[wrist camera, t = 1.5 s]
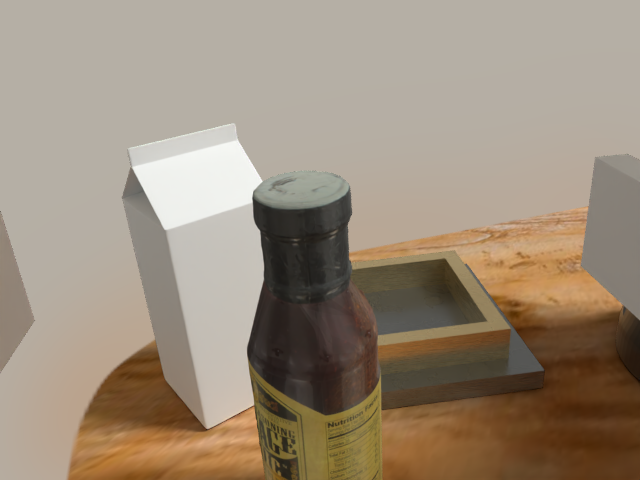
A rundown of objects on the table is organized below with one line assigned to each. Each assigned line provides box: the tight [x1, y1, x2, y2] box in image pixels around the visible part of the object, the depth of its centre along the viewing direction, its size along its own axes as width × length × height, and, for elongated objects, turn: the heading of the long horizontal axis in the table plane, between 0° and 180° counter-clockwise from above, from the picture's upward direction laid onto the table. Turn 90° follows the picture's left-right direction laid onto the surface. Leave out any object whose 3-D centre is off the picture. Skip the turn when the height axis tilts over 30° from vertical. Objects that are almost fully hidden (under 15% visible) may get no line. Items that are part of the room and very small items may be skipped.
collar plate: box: [350, 251, 545, 410], centre depth 47 cm, size 16×16×4 cm
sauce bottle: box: [247, 171, 382, 480], centre depth 29 cm, size 6×6×20 cm
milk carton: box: [122, 124, 264, 429], centre depth 40 cm, size 7×7×19 cm
